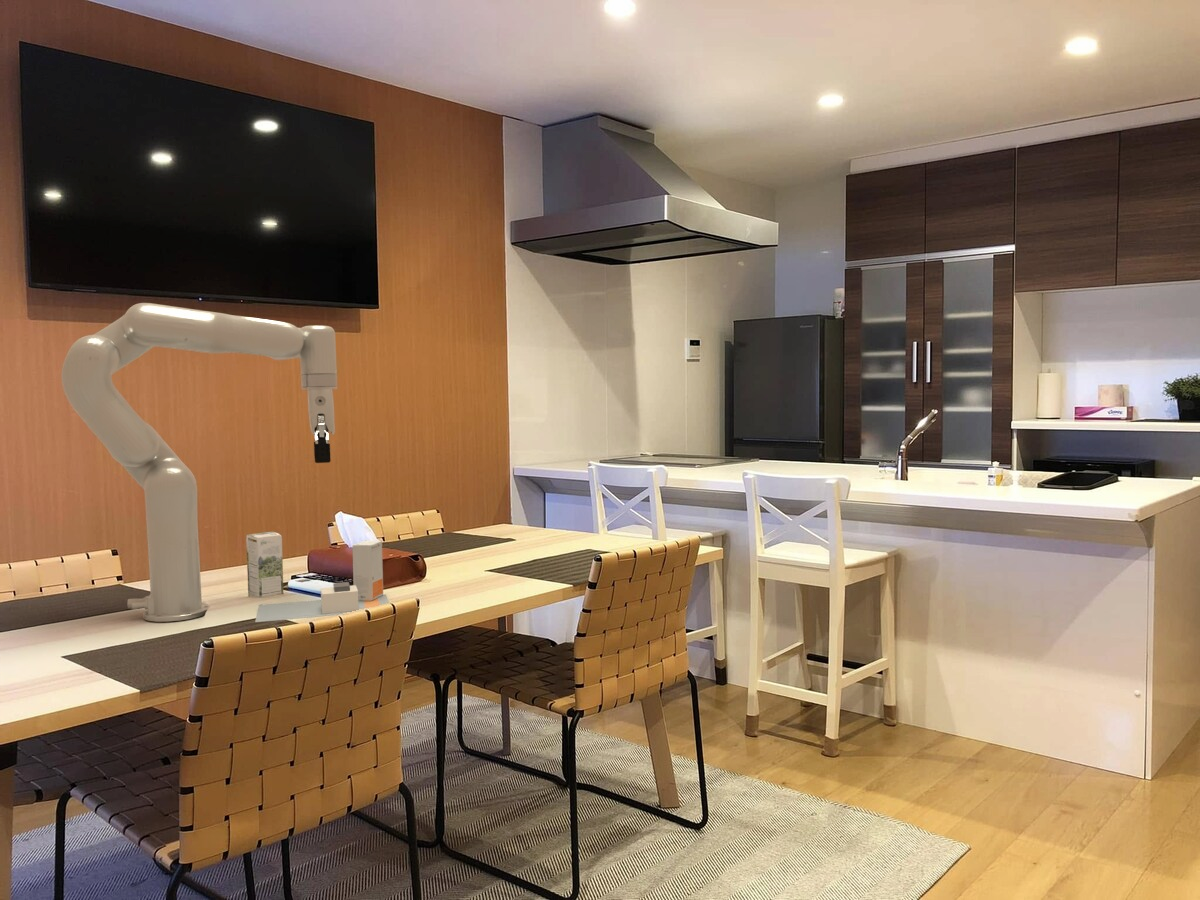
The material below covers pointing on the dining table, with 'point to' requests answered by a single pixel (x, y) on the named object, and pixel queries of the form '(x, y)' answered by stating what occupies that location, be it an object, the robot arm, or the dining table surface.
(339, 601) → the beige box
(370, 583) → the skincare box
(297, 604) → the board
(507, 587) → the dining table surface
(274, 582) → the syrup box
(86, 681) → the dining table surface
